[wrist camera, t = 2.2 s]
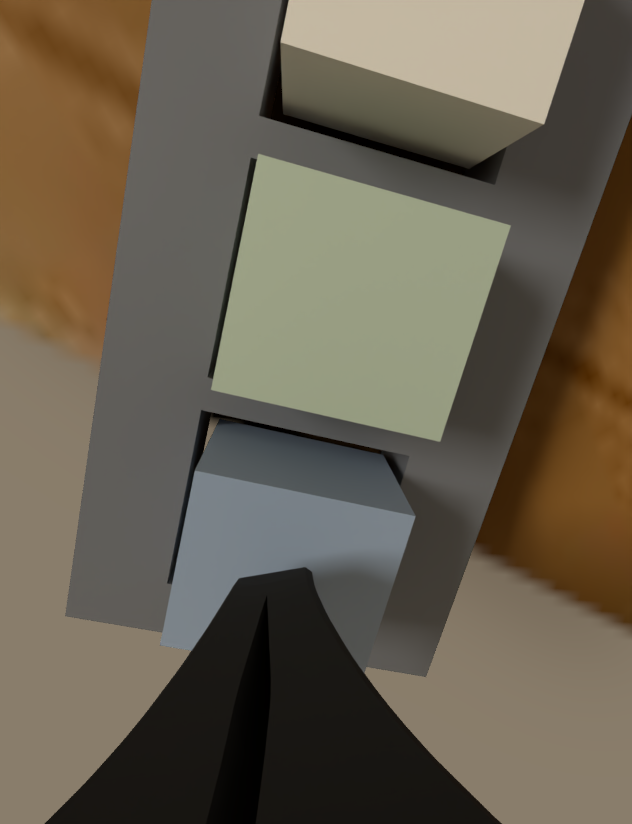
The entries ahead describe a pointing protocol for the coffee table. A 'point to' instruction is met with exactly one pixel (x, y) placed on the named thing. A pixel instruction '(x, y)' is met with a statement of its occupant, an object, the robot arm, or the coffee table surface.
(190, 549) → the slate key
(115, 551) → the key panel
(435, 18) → the ivory key
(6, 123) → the coffee table surface
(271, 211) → the sage key
